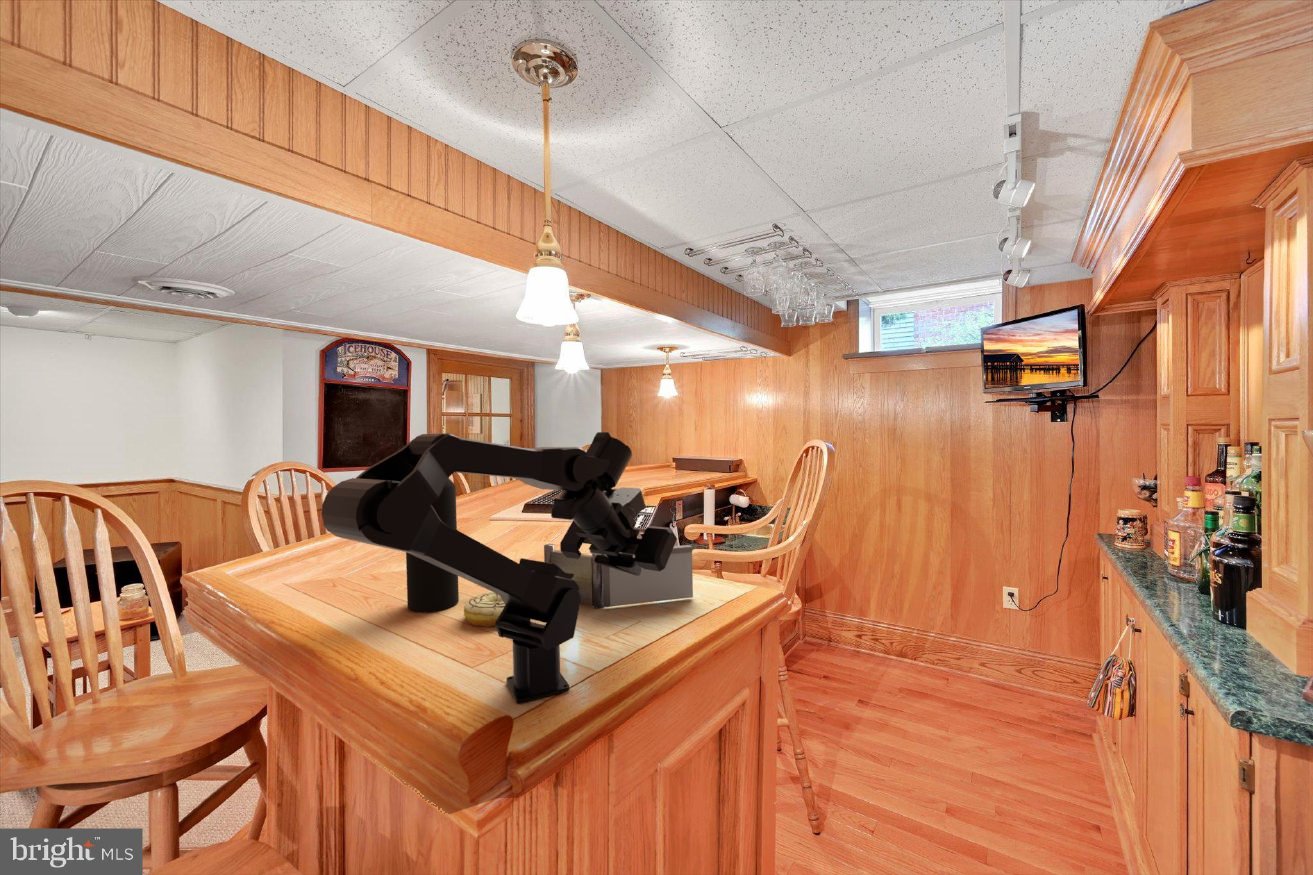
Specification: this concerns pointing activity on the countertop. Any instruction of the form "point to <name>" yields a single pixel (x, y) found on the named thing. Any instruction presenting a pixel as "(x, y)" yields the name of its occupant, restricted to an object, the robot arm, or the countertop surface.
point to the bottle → (434, 566)
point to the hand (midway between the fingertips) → (638, 572)
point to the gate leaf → (651, 581)
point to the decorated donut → (484, 609)
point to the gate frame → (580, 574)
